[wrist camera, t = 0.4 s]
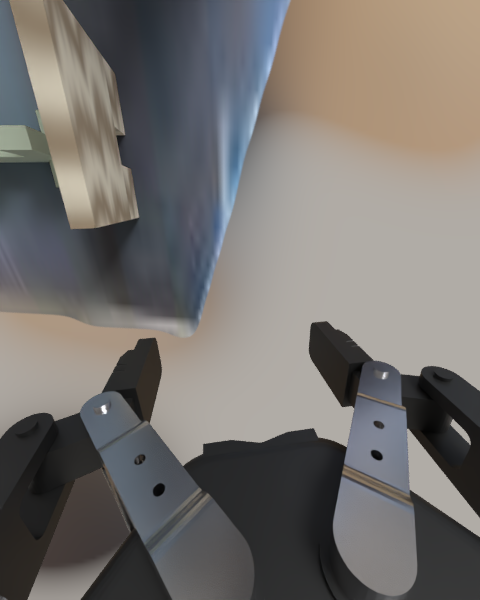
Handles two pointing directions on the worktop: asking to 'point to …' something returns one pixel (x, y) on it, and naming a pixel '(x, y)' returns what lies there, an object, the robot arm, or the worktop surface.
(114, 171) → the beige flat panel
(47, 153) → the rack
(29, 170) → the worktop surface
